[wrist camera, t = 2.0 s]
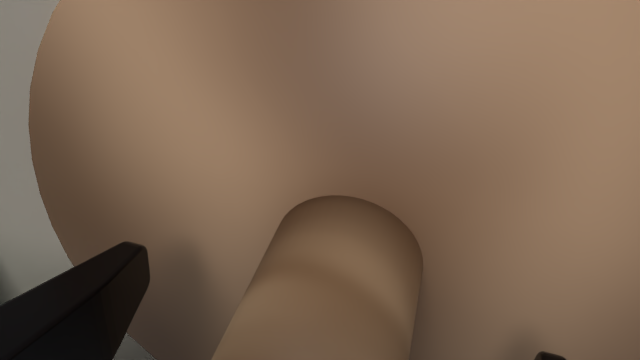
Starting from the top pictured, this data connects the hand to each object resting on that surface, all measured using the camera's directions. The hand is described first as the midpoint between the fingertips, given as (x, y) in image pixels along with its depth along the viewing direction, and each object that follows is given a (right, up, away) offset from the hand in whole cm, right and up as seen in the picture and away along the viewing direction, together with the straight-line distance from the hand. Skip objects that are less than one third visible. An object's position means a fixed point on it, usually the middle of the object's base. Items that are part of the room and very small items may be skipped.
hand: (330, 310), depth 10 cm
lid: (+1, +1, +2) cm, 2 cm away
